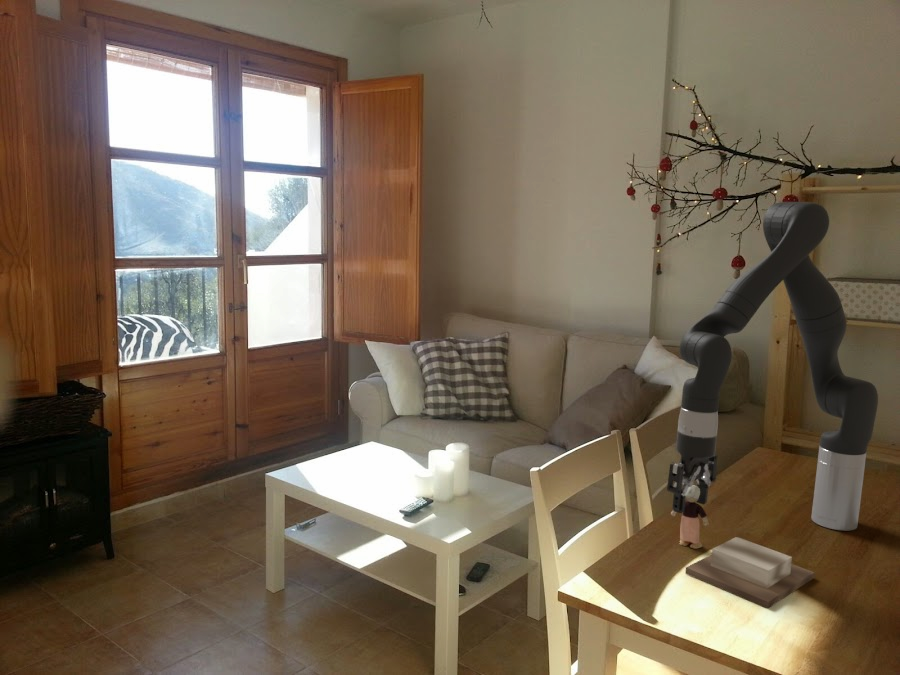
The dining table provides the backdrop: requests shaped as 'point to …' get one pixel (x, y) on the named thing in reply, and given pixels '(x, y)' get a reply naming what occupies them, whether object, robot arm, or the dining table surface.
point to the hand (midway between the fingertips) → (689, 507)
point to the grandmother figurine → (691, 519)
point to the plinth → (748, 586)
